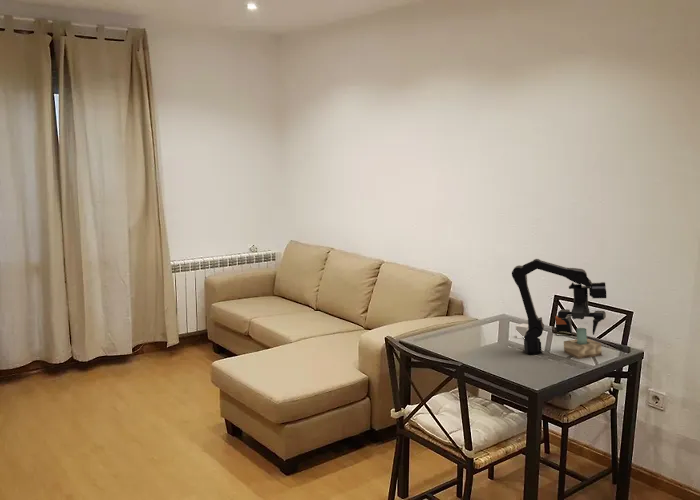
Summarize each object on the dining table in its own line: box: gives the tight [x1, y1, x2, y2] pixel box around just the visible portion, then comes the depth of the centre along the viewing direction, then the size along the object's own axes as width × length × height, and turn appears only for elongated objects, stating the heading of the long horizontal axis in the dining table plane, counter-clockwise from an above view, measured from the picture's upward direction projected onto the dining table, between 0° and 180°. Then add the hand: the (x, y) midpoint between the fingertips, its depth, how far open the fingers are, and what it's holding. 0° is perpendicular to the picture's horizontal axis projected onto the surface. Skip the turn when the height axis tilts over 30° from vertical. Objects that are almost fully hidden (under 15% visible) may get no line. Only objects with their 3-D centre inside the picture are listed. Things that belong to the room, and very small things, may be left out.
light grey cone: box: [515, 323, 529, 336], centre depth 299 cm, size 6×6×6 cm
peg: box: [576, 327, 588, 345], centre depth 264 cm, size 4×4×10 cm
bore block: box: [563, 338, 603, 360], centre depth 265 cm, size 11×11×5 cm
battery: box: [555, 314, 570, 332], centre depth 297 cm, size 4×7×10 cm, turn 76°
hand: (582, 333), depth 264 cm, fingers open, 9 cm apart
